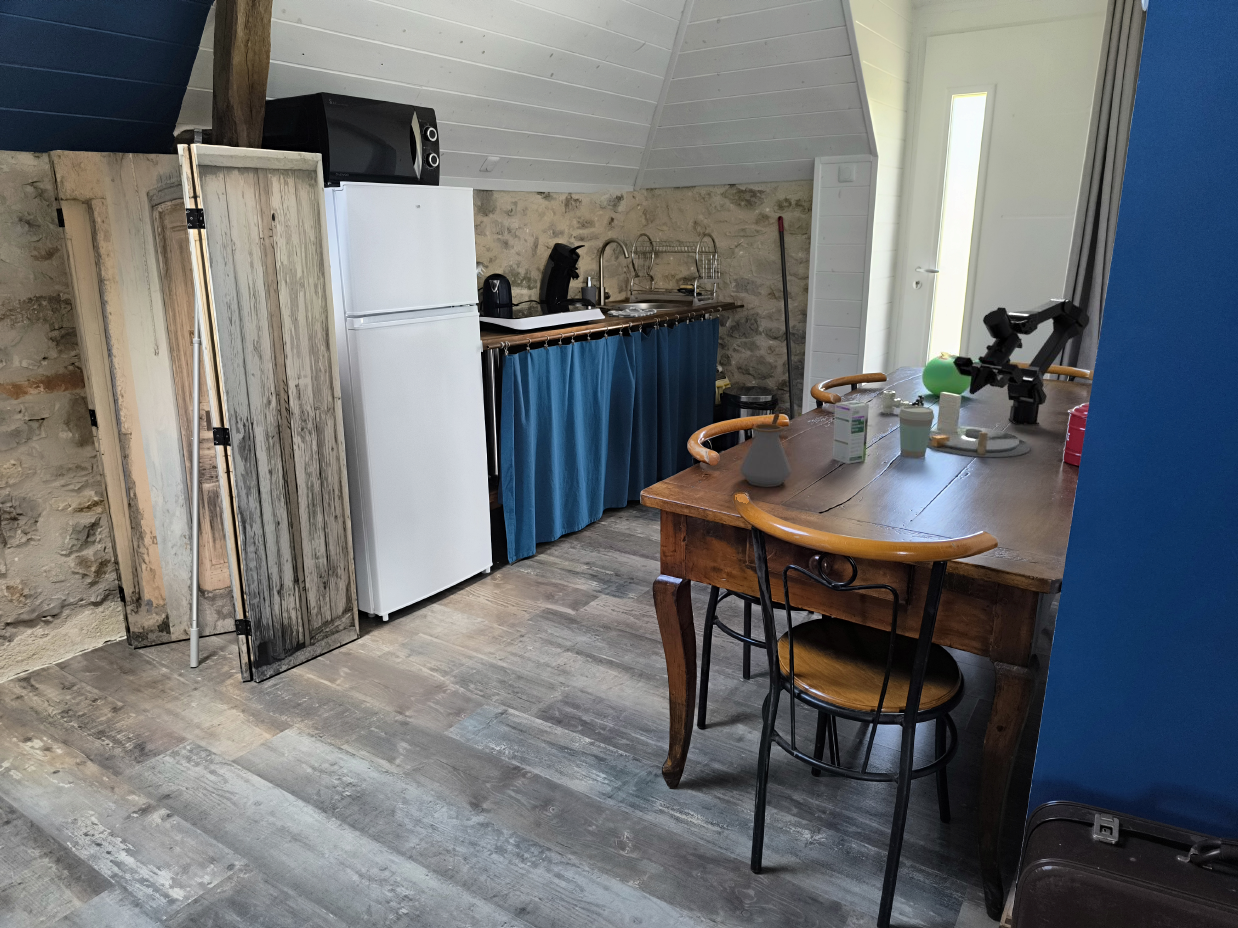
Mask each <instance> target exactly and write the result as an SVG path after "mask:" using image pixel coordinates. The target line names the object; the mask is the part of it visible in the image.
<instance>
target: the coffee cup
mask: <svg viewBox="0 0 1238 928" xmlns="http://www.w3.org/2000/svg"><path fill="white" fill-rule="evenodd" d="M897 416H898V417H899V444H900V445H899V448H900V455H901V456H902V457H903V458H909V459H923V458H925V456H926V453H927V448H928V447H927V444H928V440H929V435H930V431H931V430H932V425H933V421H934V420H935V414H934V409H933V408H931V407H928V406H923V407H922V406H905V407H904V406H902V407H901V408H900V411H899V412H898V415H897Z"/></svg>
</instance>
